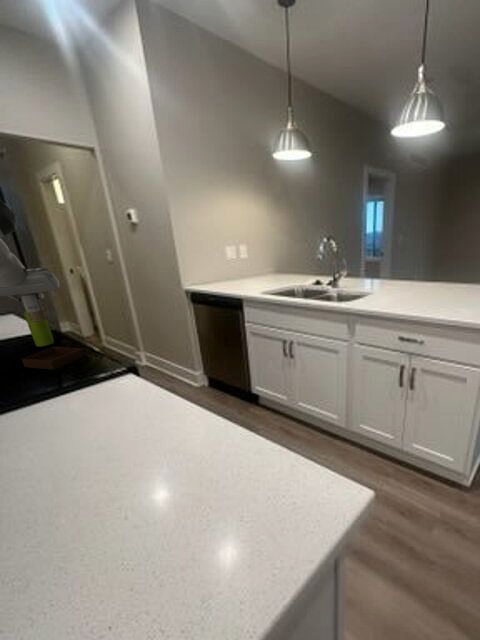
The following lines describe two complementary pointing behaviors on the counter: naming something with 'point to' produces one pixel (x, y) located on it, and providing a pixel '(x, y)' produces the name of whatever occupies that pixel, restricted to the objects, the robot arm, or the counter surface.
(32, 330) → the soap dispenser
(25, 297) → the sprinkles bottle
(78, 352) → the food tray
